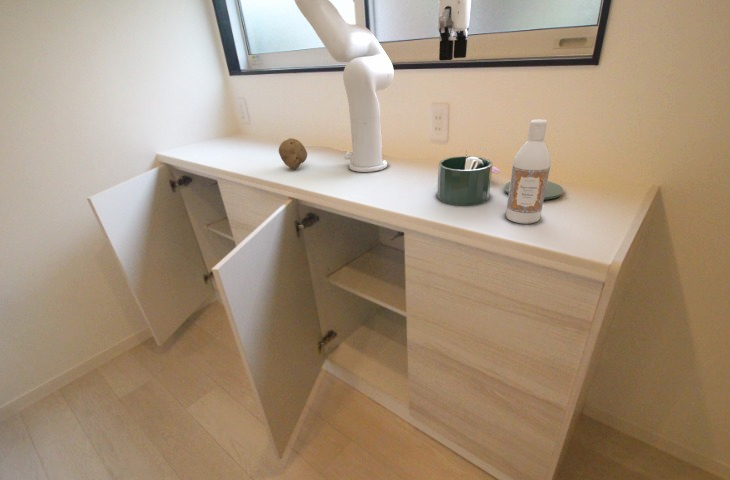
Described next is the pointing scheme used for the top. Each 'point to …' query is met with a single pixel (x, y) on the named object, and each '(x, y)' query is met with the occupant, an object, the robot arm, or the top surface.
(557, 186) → the pot lid
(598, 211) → the top surface
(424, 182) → the top surface
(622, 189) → the top surface
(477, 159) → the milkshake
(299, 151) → the brown potato
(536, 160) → the bath foam
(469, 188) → the pot
